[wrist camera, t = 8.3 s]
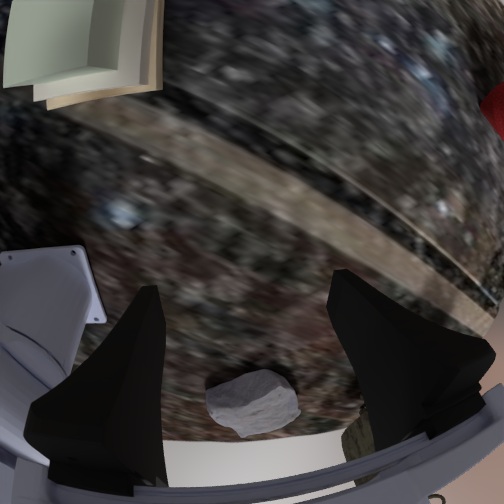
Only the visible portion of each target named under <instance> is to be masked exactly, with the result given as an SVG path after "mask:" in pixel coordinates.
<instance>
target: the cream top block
mask: <svg viewBox="0 0 504 504" xmlns="http://www.w3.org/2000/svg"><path fill="white" fill-rule="evenodd" d="M155 2H156V0H124V6H123V14H122V22H121V32H120V43H119V56H118V70H117V71H110V72H103V73H96V74H90V75H84V76H79V77H74V78H69V79H64V80H60V81H55V82H51V83H46V84H34V102H35V101H40V100H46V99H52V98H58V97H62V96H68V95H73V94H79V93H85V92H91V91H98V90H105V89H113V88H122V87H132V86H145V85H149V65H150V51H151V39H152V28H153V19H154V10H155Z"/></svg>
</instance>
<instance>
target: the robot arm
mask: <svg viewBox="0 0 504 504" xmlns="http://www.w3.org/2000/svg"><path fill="white" fill-rule="evenodd" d="M72 250H74V251H75V252H76V253H73V252H72ZM0 261H1V263H2V265H1V266H0V504H252V503H259V502H265V501H272V500H278V499H283V498H288V497H293V496H298V495H302V494H306V493H311V492H315V491H319V490H323V489H326V488H330V487H334V486H337V485H340V484H343V483H347V482H350V481H353V480H356V479H359V478H362V477H365V476H367V475H370V474H373V473H375V472H378V471H381V470H383V469H385V470H383V471H381V472H379V473H378V475H377V476H376V477H374V478H373V479H372V480H370V481H368V482H367V483H365V484H362V485H359V486H356V487H353V488H350V489H346V490H343V491H340V492H337V493H333V494H330V495H326V496H322V497H319V498H315V499H311V500H307V501H303V502H299V503H295V504H430V501H429V499H428V496H429V495H431V494H433V493H434V492H436V491H438V490H439V489H441V488H442V487H444V486H446V485H447V484H449V483H450V482H452V481H453V480H455V479H456V478H458V477H459V476H461V475H462V474H464V473H465V472H466V471H468V470H469V469H471V468H472V467H473V466H475V465H476V464H477V463H479V462H480V461H481V460H482V459H484V458H485V457H486V456H487V455H489V454H490V453H491V452H492V451H493V450H495V449H496V448H497V447H498V446H499V445H500V444H502V443H503V442H504V387H503V385H502V384H501V383H499V384H498V385H496V386H495V387H493V388H492V389H490V390H489V391H487V392H486V393H485V394H484V395H483V396H481V395H480V393H479V391H480V390H481V385H480V384H479V381H480V380H481V378H482V377H483V376H484V374H485V373H486V372H487V371H488V369H489V368H490V367H491V365H492V364H493V362H494V360H495V357H496V353H495V351H494V350H493V348H492V347H491V346H490V344H489V343H488V342H487V341H486V340H485V339H482V338H477V337H473V336H469V335H465V334H462V333H459V332H456V331H453V330H450V329H447V328H445V327H442V326H440V325H438V324H435V323H433V322H431V321H428V320H426V319H424V318H422V317H420V316H419V315H417V314H415V313H413V312H411V311H409V310H408V309H406V308H404V307H402V306H401V305H399V304H398V303H396V302H395V301H393V300H391V299H390V298H388V297H387V296H385V295H384V294H382V293H381V292H380V291H378V290H377V289H375V288H374V287H372V286H371V285H370V284H368V283H367V282H365V281H364V280H363V279H361V278H360V277H358V276H357V275H355V274H354V273H352V272H351V271H349V270H348V269H341V270H334V272H333V277H332V282H331V287H330V292H329V296H328V301H327V305H326V308H327V311H328V314H329V317H330V320H331V323H332V326H333V328H334V330H335V332H336V334H337V336H338V338H339V340H340V342H341V344H342V346H343V348H344V350H345V352H346V354H347V357H348V359H349V361H350V363H351V365H352V367H353V369H354V371H355V374H356V376H357V379H358V382H359V385H360V388H361V391H362V395H363V398H364V401H365V405H366V408H367V412H368V416H369V420H370V425H371V429H372V435H373V440H374V446H375V453H373V454H370V455H367V456H364V457H361V458H358V459H355V460H352V461H349V462H346V463H342V464H339V465H336V466H332V467H328V468H324V469H321V470H317V471H313V472H309V473H304V474H299V475H295V476H290V477H285V478H279V479H274V480H268V481H261V482H254V483H247V484H237V485H226V486H212V487H175V488H174V487H169V486H168V480H167V473H166V467H165V459H164V450H163V440H162V426H161V403H160V399H161V384H162V374H163V365H164V356H165V347H166V322H165V318H164V314H163V309H162V305H161V301H160V297H159V292H158V288H157V285H154V286H142V287H141V288H140V290H139V291H138V293H137V294H136V296H135V297H134V299H133V300H132V302H131V303H130V305H129V306H128V308H127V310H126V311H125V312H124V314H123V315H122V317H121V318H120V320H119V321H118V322H117V324H116V325H115V327H114V328H113V329H112V330H111V332H110V333H109V334H108V336H107V337H106V338H105V340H104V341H103V342H102V343H101V344H100V346H99V347H98V348H97V349H96V350H95V351H94V352H93V353H92V354H91V356H90V357H89V358H88V359H87V360H86V361H84V362H83V363H82V364H81V365H80V366H79V367H78V368H77V369H76V370H75V371H74V372H73V373H72V374H70V373H71V369H72V365H73V362H74V359H75V355H76V352H77V349H78V345H79V342H80V339H81V336H82V333H83V330H84V327H85V324H86V323H105V322H106V320H107V316H106V313H105V310H104V308H103V305H102V302H101V299H100V296H99V293H98V290H97V287H96V284H95V281H94V278H93V275H92V272H91V268H90V265H89V262H88V258H87V255H86V251H85V249H84V247H83V246H81V245H72V246H60V247H48V248H37V249H26V250H15V251H5V252H1V254H0ZM95 317H97V318H95ZM390 466H391V467H390ZM388 467H389V468H388ZM386 468H387V469H386Z"/></svg>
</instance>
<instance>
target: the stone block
mask: <svg viewBox="0 0 504 504" xmlns="http://www.w3.org/2000/svg"><path fill="white" fill-rule="evenodd" d="M206 404H207V409H208V412H209V415H210V416H211V417H212V418H213V419H214V420H215V421H216V422H217V423H219V424H221V425H223V426H225V427H227V426H228V427H231V428H233V429H234V430H235V431H236V432H237V433H238V434H239V436H240V437H246V436H247V435H251V434H259V433H263V432H270V431H272V430H276V429H278V428H282V427H283V426H285V425H286V424H288V423H289V422H291V421H293V420H295V418H296V417H298V416H299V414H300V412H301V411H300V407H299V405H298V400H297V396H296V394H295V391H294V389H293V388H292V387H291V386H290V384H289V383H288V382H287V380H286V378H284V377H283V376H281V375H279V374H277V373H275V372H273V371H271V370H268V369H262V370H258V371H255V372H250V373H246V374H244V375H242V376H240V377H238V378H235V379H233V380H232V381H229V382H226V383H222V384H219V385H218V386H216V387H213V388H209V389H207V391H206Z"/></svg>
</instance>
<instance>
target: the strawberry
mask: <svg viewBox="0 0 504 504" xmlns="http://www.w3.org/2000/svg"><path fill="white" fill-rule="evenodd" d="M480 109H481V112H482V113H483V115H484V116H485V117H486V118H487V120H488V121H489V123H490V124H491V126H492V127H493V128H494V129H495V131H496V132H497V133H498V134H499V136H500V137H501V138H502V139H503V141H504V82H501V83H499V84H498V85H497V86H496V87H495V88H494V89H493V90H491V91H490V92H489V94H488V95H487V96H486V98H485V99H484V100H483V101H482V102H481V103H480Z"/></svg>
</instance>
